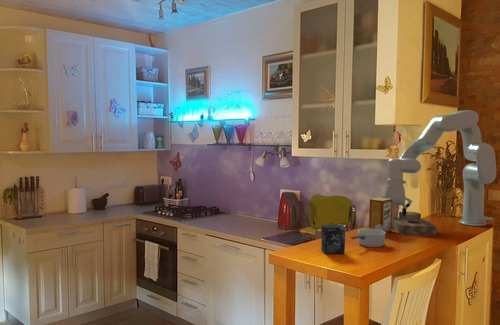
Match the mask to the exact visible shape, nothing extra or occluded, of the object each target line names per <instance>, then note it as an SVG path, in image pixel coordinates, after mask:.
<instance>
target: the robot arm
mask: <svg viewBox="0 0 500 325" xmlns="http://www.w3.org/2000/svg"><path fill="white" fill-rule="evenodd" d="M479 120H480V119H479V114H478V113H477V112H476V111H474V110H471V109H467V110H455V111H453V112H451V113H450V114H443V115H442V114H441V115H435V116H434V117H432V118H431V120H430V121H429V122H428V124H427V125H426V127H425V128H424V129H423V131H422V132H421V134H420V135H419V136H418V138H417V139H416V140H415V141H413V142H412V143H411V144H410V145H409V146H408V147H407V148H406V149H405V150H404V151H403V153H402V154H401V156H400V157H399V158H389V159H388V160H387V176H386V177H387V180H386V184H385V186H384V191H383V196H381V198H389V199H392V205H399V206H401V207H402V208H401V210H402V212H401V216H402V217H403V218H404V217H406V216H407V210H408V208H409V207H410V206H411V205H412V203H413V200H412V199H410V198H408V197H406V189H405V186H404V184H406V183H407V182H406V180H404V174H417V173H418V172H419V171H420V170H421V169H422V164H421V162H420V161H419V160H417V158H418V157H419V156H420V155H422V154H424V153H425V152H428V151H429V150H431V149H433V148H434V147H435V146H436V144H437V143H438V142H439V140H440V139H441V137H442V136H443V134H444V133H451V132H455V131H459V132H460V134H461V138H462V147H463V148H462V149H463V156H464V158H465V159H466V160H468V161H471V162H472V161H473V162H474V163H473V162H472V163H468V164H466V165H465V166H464V167H463V170H462V180H463V200H462V201H463V202H462V218H461V219H459V220H458V223H459V224H461V225H465V226H470V227H472V226H473V227H484V226H487V222H488V221H489V222H493V221H494V218H493V216H492V217H488V216H486V215H484V212H485V211H484V209H485V208H484V207H485V190H486V189H485V186H484V185H486V184H487V185H488V184H491V183H493V182H494V181H495V179H496V178H497V163H496V152H495V149H494V147H493V145H491V144H489V143H486V142H483V140H482V135H481V130H480V127H479V126H478V124H477V123H478V122H479ZM406 202H407V203H406Z"/></svg>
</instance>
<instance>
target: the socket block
mask: <svg viewBox="0 0 500 325" xmlns="http://www.w3.org/2000/svg"><path fill="white" fill-rule="evenodd" d="M392 228H393V230H395V231H396V232H397V234H399V235H400V236H416V235H417V236H418V237H419V236H420V237H424V236H425V237H438V226H437V225H435V224H434V223H432V222H431V221H429V219H426V218H398V219H396V218H393V224H392Z"/></svg>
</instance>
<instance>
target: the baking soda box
mask: <svg viewBox="0 0 500 325" xmlns="http://www.w3.org/2000/svg"><path fill="white" fill-rule="evenodd" d="M381 197H382V196H381ZM381 197H374V198H373V197H372V198H370V199H369V218H368V222H369V223H368V229H375V226H377V225H378V224H380V225H382V227H384V225H385V223H386V221H387V220H390V221H391V223H390V225H389V227H388V229H385V232H386V234H388V233H390V232H392V228H393V227H392V199H389V198H381Z"/></svg>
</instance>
